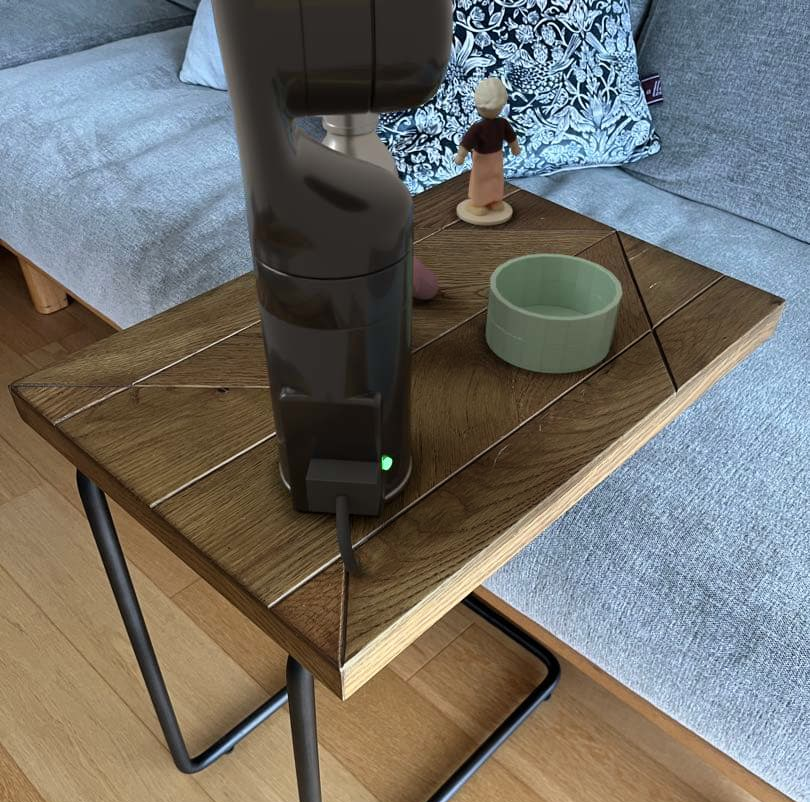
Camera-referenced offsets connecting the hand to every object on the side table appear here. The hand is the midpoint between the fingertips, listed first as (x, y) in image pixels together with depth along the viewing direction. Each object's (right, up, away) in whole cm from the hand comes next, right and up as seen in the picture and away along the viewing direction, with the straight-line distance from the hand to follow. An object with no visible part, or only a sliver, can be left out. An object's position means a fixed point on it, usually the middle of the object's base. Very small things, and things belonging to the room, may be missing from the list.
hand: (412, 72), depth 83 cm
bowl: (+12, -30, -13) cm, 35 cm away
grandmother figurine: (+7, -13, +4) cm, 15 cm away
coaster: (+8, -13, +4) cm, 15 cm away
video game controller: (-3, -26, -8) cm, 27 cm away
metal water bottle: (-5, -32, -14) cm, 36 cm away
